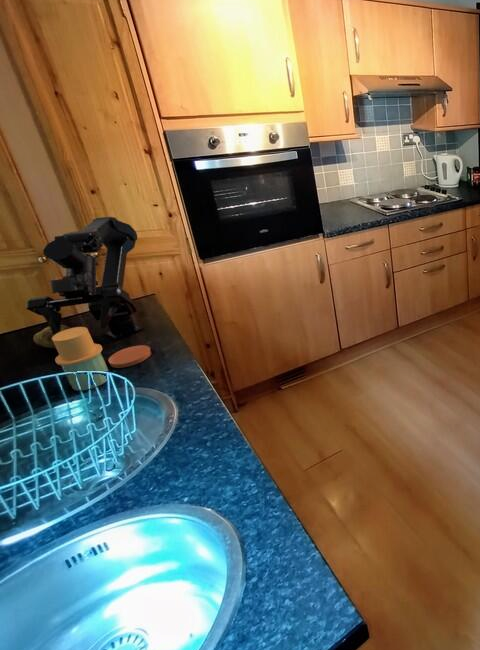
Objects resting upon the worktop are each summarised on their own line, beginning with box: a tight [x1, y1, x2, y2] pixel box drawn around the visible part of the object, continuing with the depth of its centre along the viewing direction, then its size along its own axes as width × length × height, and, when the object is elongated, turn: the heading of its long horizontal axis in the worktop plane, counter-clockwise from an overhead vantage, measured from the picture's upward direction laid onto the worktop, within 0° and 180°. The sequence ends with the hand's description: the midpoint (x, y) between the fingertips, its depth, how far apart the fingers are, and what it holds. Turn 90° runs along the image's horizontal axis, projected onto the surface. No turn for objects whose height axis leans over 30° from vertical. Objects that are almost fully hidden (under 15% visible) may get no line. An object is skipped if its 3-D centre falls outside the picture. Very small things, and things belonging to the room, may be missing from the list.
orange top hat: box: [52, 326, 103, 366], centre depth 110 cm, size 9×9×8 cm
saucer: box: [107, 344, 152, 369], centre depth 123 cm, size 9×9×1 cm
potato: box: [32, 324, 71, 349], centre depth 126 cm, size 8×13×8 cm, turn 50°
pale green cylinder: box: [60, 351, 110, 392], centre depth 113 cm, size 7×7×8 cm
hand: (79, 332), depth 113 cm, fingers open, 9 cm apart
